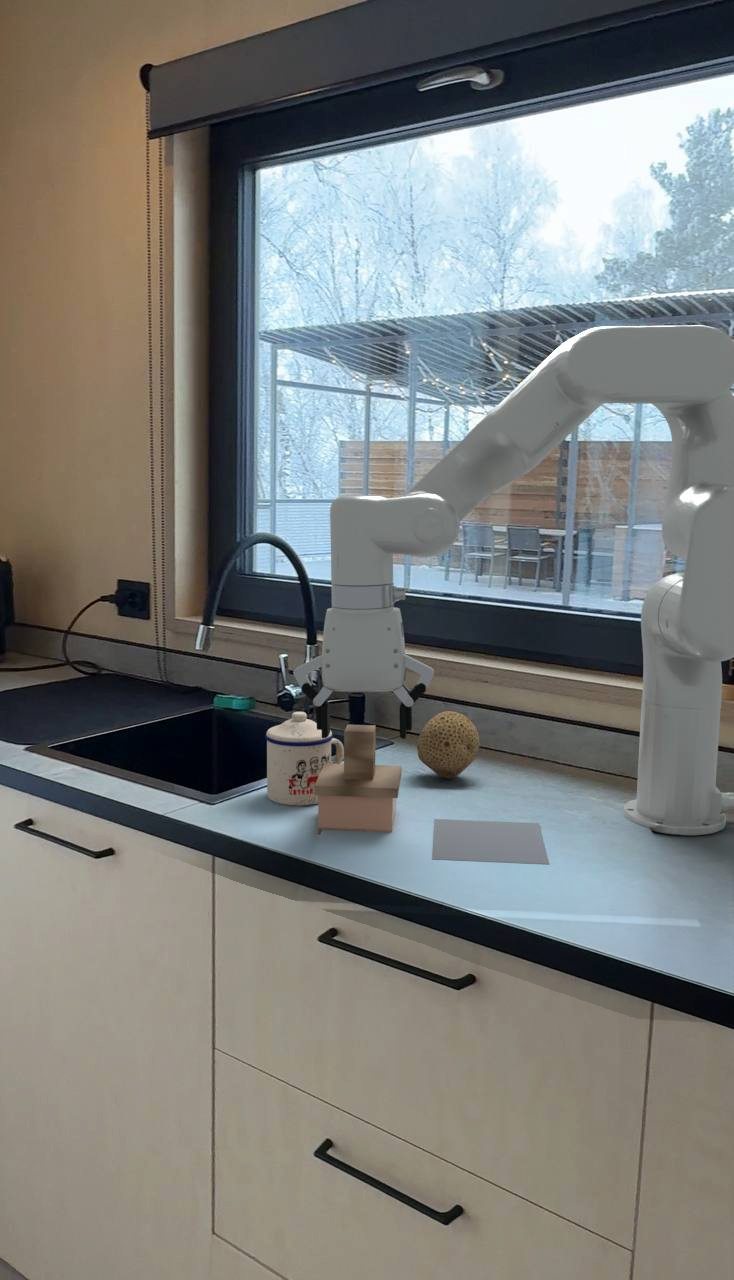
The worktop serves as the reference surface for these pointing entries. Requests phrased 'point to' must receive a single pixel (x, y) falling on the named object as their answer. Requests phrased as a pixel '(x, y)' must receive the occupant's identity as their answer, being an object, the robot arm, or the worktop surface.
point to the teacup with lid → (297, 760)
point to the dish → (356, 813)
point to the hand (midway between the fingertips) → (364, 735)
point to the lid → (359, 769)
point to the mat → (488, 841)
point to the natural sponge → (448, 744)
